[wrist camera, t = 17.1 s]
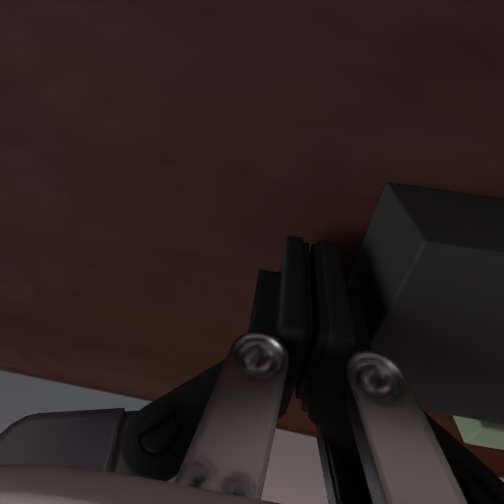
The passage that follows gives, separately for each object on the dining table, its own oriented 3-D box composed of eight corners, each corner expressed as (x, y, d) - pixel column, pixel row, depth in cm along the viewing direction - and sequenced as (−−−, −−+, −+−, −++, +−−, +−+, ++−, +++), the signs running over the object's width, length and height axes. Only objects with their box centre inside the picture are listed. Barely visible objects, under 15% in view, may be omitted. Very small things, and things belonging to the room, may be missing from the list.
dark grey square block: (331, 320, 13) (340, 396, 10) (385, 181, 9) (424, 241, 6) (480, 344, 13) (534, 431, 10) (599, 212, 9) (741, 290, 6)
